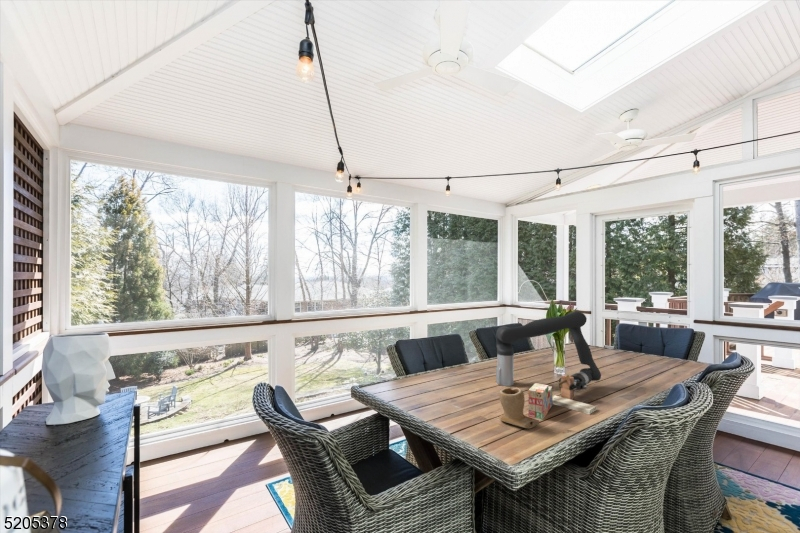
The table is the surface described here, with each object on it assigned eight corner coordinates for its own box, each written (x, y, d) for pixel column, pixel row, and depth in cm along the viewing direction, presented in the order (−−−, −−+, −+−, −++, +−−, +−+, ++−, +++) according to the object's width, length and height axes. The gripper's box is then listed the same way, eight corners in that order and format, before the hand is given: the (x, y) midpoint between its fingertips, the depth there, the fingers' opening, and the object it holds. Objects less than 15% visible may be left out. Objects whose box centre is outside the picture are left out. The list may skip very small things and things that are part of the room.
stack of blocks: (539, 402, 181) (539, 378, 181) (552, 405, 177) (552, 380, 177) (528, 416, 163) (528, 389, 163) (542, 420, 159) (542, 392, 160)
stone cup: (493, 422, 156) (493, 387, 156) (508, 415, 164) (508, 382, 164) (525, 434, 145) (525, 396, 145) (539, 426, 153) (540, 390, 153)
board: (547, 402, 181) (547, 398, 181) (554, 398, 186) (554, 395, 186) (589, 414, 166) (589, 410, 166) (596, 410, 171) (596, 406, 171)
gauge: (564, 396, 188) (564, 373, 188) (573, 398, 184) (573, 375, 185) (555, 401, 181) (555, 377, 181) (564, 403, 177) (564, 379, 177)
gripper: (565, 370, 200) (551, 376, 188) (592, 376, 189) (579, 382, 178) (565, 384, 200) (551, 390, 188) (592, 390, 189) (579, 398, 177)
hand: (565, 386), depth 183 cm, fingers closed on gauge, 4 cm apart
